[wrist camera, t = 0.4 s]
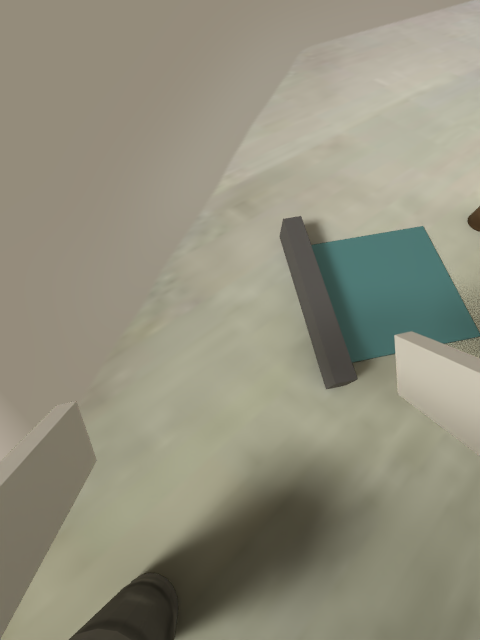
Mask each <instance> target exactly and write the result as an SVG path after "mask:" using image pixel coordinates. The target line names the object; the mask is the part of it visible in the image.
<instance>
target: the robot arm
mask: <svg viewBox="0 0 480 640" xmlns="http://www.w3.org/2000/svg"><path fill="white" fill-rule="evenodd" d="M394 337H395V355H396V372H397V390H398V395H399V396H401V397H402V398H403V399H405V400H406V401H407V402H409V403H410V404H411V405H413V406H414V407H415V408H417V409H418V410H419V411H421V412H422V413H423V414H425V415H426V416H427V417H429V418H430V419H431V420H433V421H434V422H435V423H437V424H438V425H439V426H441V427H442V428H443V429H445V430H446V431H447V432H448V433H450V434H451V435H452V436H454V437H455V438H456V439H458V440H459V441H460V442H462V443H463V444H464V445H466V446H467V447H468V448H470V449H471V450H472V451H474V452H475V453H476V454H478V455H479V456H480V358H479V357H476V356H473V355H471V354H468V353H466V352H463V351H461V350H458V349H456V348H453V347H450V346H448V345H445V344H443V343H440V342H438V341H435V340H433V339H430V338H428V337H425V336H422V335H420V334H417V333H415V332H412V331H411V332H406V333H401V334H396V335H394ZM96 461H97V459H96V457H95V454H94V451H93V448H92V445H91V442H90V439H89V436H88V433H87V430H86V427H85V424H84V422H83V419H82V416H81V413H80V410H79V407H78V404H77V401H74V402H69V403H64V404H60V405H56V406H55V407H54V408H53V409H52V410H51V412H49V413H48V414H47V415H46V416H45V417H44V418H43V419H42V420H41V421H40V422H39V423H38V424H37V425H36V426H35V428H33V429H32V430H31V431H30V432H29V434H28V435H26V436H25V437H24V438H23V439H22V440H21V441H20V442H19V444H17V445H16V446H15V447H14V448H13V449H12V450H11V451H10V452H9V453H8V454H7V455H6V457H4V458H3V459H2V461H0V639H1V637H2V635H3V633H4V631H5V630H6V628H7V626H8V624H9V622H10V620H11V618H12V617H13V615H14V613H15V611H16V609H17V607H18V605H19V604H20V602H21V600H22V598H23V596H24V594H25V592H26V591H27V589H28V587H29V585H30V583H31V581H32V579H33V578H34V576H35V574H36V572H37V570H38V568H39V567H40V565H41V563H42V561H43V559H44V557H45V555H46V554H47V552H48V550H49V548H50V546H51V544H52V542H53V541H54V539H55V537H56V535H57V533H58V531H59V529H60V528H61V526H62V524H63V522H64V520H65V518H66V516H67V515H68V513H69V511H70V509H71V507H72V505H73V504H74V502H75V500H76V498H77V496H78V494H79V492H80V491H81V489H82V487H83V485H84V483H85V481H86V479H87V478H88V476H89V474H90V472H91V470H92V468H93V466H94V465H95V463H96Z"/></svg>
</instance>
